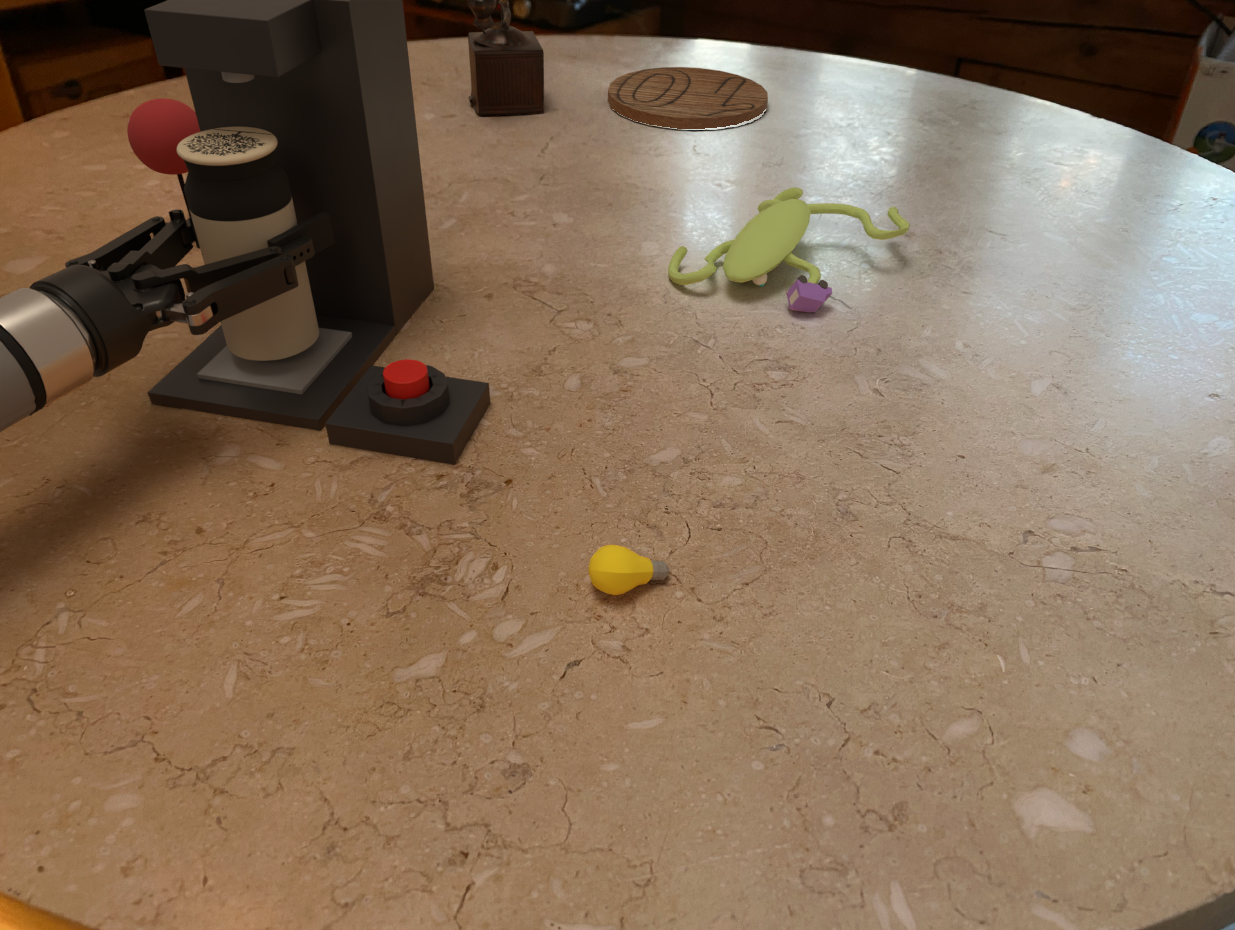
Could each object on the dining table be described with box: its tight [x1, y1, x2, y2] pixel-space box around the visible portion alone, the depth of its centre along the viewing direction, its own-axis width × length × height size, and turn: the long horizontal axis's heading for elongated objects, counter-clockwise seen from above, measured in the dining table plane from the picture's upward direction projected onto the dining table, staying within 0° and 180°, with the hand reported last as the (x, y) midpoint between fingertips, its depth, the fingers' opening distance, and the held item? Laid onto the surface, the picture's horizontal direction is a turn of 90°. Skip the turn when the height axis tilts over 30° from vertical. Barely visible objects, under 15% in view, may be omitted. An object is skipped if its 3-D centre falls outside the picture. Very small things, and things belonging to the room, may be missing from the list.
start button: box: [383, 358, 429, 400], centre depth 78 cm, size 4×4×2 cm
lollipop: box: [126, 97, 200, 218], centre depth 103 cm, size 8×8×15 cm
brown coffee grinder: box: [466, 0, 545, 117], centre depth 138 cm, size 16×11×18 cm
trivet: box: [607, 66, 769, 129], centre depth 147 cm, size 25×25×2 cm
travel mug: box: [177, 127, 319, 361], centre depth 79 cm, size 8×8×18 cm
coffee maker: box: [144, 0, 435, 432], centre depth 81 cm, size 16×26×30 cm, turn 167°
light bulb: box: [587, 544, 671, 596], centre depth 65 cm, size 3×6×4 cm, turn 106°
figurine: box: [667, 187, 911, 313], centre depth 103 cm, size 18×27×6 cm
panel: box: [325, 364, 491, 466], centre depth 79 cm, size 11×9×4 cm
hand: (289, 217), depth 82 cm, fingers closed on travel mug, 8 cm apart
